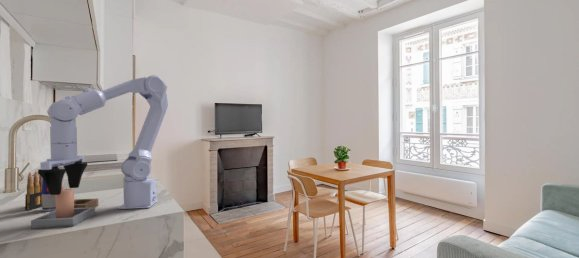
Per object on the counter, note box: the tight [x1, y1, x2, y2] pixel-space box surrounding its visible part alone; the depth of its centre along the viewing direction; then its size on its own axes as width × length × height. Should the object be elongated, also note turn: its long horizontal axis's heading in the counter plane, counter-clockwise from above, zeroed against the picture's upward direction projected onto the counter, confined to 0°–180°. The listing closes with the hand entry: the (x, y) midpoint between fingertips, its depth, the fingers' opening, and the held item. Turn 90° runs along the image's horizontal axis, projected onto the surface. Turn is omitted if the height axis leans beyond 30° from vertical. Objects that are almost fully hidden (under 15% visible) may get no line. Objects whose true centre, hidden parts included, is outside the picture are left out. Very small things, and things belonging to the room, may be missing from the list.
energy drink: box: [41, 175, 65, 213], centre depth 85 cm, size 5×5×12 cm
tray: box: [30, 207, 96, 229], centre depth 75 cm, size 10×10×2 cm
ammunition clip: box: [24, 171, 42, 211], centre depth 90 cm, size 11×2×12 cm, turn 174°
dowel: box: [56, 188, 75, 218], centre depth 75 cm, size 4×4×8 cm
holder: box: [74, 198, 99, 208], centre depth 85 cm, size 7×7×2 cm
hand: (65, 191), depth 75 cm, fingers open, 7 cm apart
